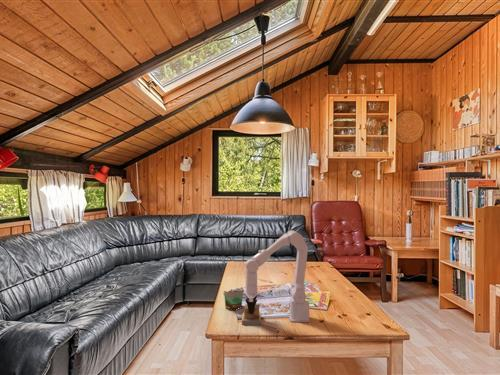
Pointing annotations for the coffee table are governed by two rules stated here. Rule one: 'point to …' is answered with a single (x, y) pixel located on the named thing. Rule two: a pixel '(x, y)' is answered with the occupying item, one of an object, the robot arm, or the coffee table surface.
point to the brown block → (252, 316)
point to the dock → (251, 320)
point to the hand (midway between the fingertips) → (251, 311)
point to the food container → (233, 299)
